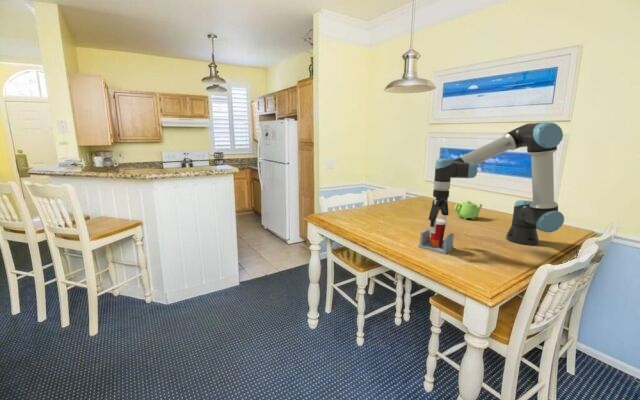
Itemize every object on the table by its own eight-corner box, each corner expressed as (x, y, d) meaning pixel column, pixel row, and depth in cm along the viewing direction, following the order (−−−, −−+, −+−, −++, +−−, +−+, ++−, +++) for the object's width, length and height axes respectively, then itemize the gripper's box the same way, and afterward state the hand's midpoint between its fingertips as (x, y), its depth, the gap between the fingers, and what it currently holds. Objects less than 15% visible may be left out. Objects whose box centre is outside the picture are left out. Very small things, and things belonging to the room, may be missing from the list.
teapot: (475, 215, 222) (477, 199, 220) (485, 220, 209) (488, 203, 207) (449, 215, 221) (450, 199, 219) (458, 220, 208) (460, 203, 206)
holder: (453, 247, 156) (455, 233, 155) (445, 254, 147) (446, 238, 146) (427, 241, 165) (428, 227, 164) (418, 247, 157) (419, 232, 155)
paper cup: (440, 243, 160) (442, 218, 157) (446, 248, 152) (449, 222, 150) (425, 243, 160) (428, 218, 157) (431, 248, 152) (434, 222, 149)
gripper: (443, 185, 162) (439, 223, 166) (423, 191, 144) (420, 233, 148) (457, 187, 157) (453, 226, 161) (439, 193, 139) (435, 237, 143)
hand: (437, 229), depth 154 cm, fingers open, 13 cm apart
